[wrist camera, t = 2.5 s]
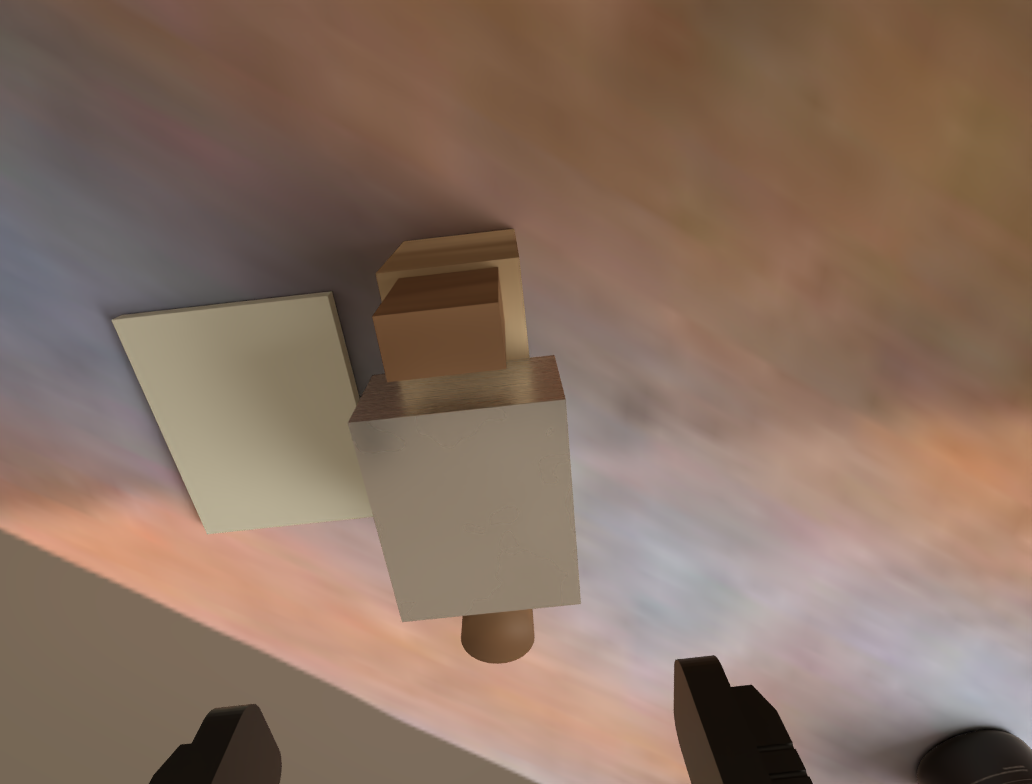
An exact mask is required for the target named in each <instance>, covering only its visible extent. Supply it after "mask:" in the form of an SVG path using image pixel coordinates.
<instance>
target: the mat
mask: <svg viewBox="0 0 1032 784" xmlns="http://www.w3.org/2000/svg"><path fill="white" fill-rule="evenodd" d="M112 322H113V325H114V327H115V329H116V331H117V333H118V336H119V338H120V340H121V342H122V345H123V347H124V349H125V351H126V354H127V356H128V358H129V360H130V363H131V365H132V367H133V369H134V372H135V374H136V376H137V378H138V380H139V383H140V385H141V387H142V389H143V392H144V394H145V396H146V398H147V401H148V403H149V405H150V407H151V410H152V412H153V414H154V416H155V419H156V421H157V423H158V425H159V427H160V430H161V432H162V434H163V436H164V439H165V441H166V443H167V445H168V448H169V450H170V452H171V454H172V457H173V459H174V461H175V463H176V466H177V468H178V470H179V472H180V474H181V477H182V479H183V481H184V483H185V486H186V488H187V490H188V492H189V495H190V497H191V499H192V501H193V504H194V506H195V508H196V510H197V513H198V515H199V517H200V519H201V521H202V524H203V526H204V528H205V530H206V533H207V534H214V533H224V532H233V531H243V530H252V529H262V528H271V527H281V526H290V525H300V524H309V523H319V522H328V521H338V520H347V519H357V518H366V517H373V514H372V510H371V506H370V503H369V499H368V496H367V492H366V488H365V485H364V481H363V477H362V474H361V470H360V466H359V463H358V459H357V455H356V452H355V448H354V444H353V441H352V437H351V433H350V430H349V426H348V421H349V419H350V418H351V416H352V414H353V412H354V410H355V408H356V406H357V404H358V402H359V400H360V398H359V394H358V390H357V386H356V383H355V379H354V375H353V371H352V367H351V363H350V359H349V355H348V352H347V348H346V344H345V340H344V336H343V332H342V328H341V324H340V320H339V317H338V313H337V309H336V305H335V301H334V297H333V293H332V291H330V292H321V293H312V294H304V295H295V296H286V297H277V298H268V299H259V300H250V301H242V302H233V303H224V304H215V305H206V306H197V307H188V308H179V309H171V310H162V311H153V312H144V313H135V314H126V315H121V316H119V317H117V318H115V319H112Z"/></svg>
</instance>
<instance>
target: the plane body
mask: <svg viewBox="0 0 1032 784" xmlns="http://www.w3.org/2000/svg"><path fill="white" fill-rule="evenodd" d="M376 278H377V282H378V287H379V292H380V296H381V301H382V303H381V304H380V306H379V307H378V309H377V310H376V312H375V313H374V315H373V316H372V318H373V322H374V327H375V331H376V335H377V340H378V344H379V348H380V353H381V357H382V361H383V366H384V370H385V375H386V379H387V382H394V381H403V380H412V379H421V378H430V377H440V376H449V375H458V374H467V373H476V372H485V371H494V370H503V369H507V363H506V360H515V359H524V358H529V349H528V339H527V330H526V320H525V310H524V300H523V291H522V281H521V271H520V261H519V254H518V248H517V242H516V236H515V231H514V229H507V230H499V231H490V232H481V233H472V234H464V235H455V236H446V237H437V238H429V239H420V240H411V241H404V242H403V243H402V244H401V245H400V246H399V247H398V249H397V250H396V251H395V252H394V253H393V254H392V255H391V257H390V258H389V259H388V260H387V261H386V262H385V263H384V265H383V266H382V267H381V268H380V269H379V270H378V271H377V273H376ZM461 642H462V645H463V647H464V649H465V650H466V652H467V653H468V654H470V655H471V656H472V657H474V658H476V659H478V660H480V661H483V662H487V663H497V664H498V663H507V662H511V661H514V660H517V659H519V658H521V657H522V656H524V655H525V654H526V653H527V652H528V651H529V650H530V649H531V647H532V645H533V643H534V624H533V610H532V609H526V610H516V611H506V612H496V613H486V614H477V615H467V616H463V619H462V633H461Z"/></svg>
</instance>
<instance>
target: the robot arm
mask: <svg viewBox="0 0 1032 784" xmlns="http://www.w3.org/2000/svg"><path fill="white" fill-rule="evenodd" d="M674 719H675V726H676V731H677V736H678V740H679V744H680V748H681V751H682V754H683V757H684V761H685V764H686V767H687V771H688V774H689V777H690V780H691V784H813V783H812V781H811V779H810V777H808V776H807V773H806V769H805V767H804V765H803V763H802V761H801V759H800V757H799V755H798V753H797V751H796V749H794V747H793V744H792V741H791V739H790V737H789V735H788V733H787V731H786V729H785V726H784V724H783V722H782V720H781V718H780V716H779V714H778V712H777V710H776V709H775V708H774V707H773V706H772V705H771V704H770V703H769V702H768V701H767V700H766V699H765V698H764V697H763V696H762V695H761V694H760V693H759V692H758V691H757V690H756V689H755V688H754V687H753V686H752V685H745V686H736V687H731V686H730V684H729V682H728V679H727V677H726V675H725V672H724V670H723V668H722V666H721V663H720V662H719V660H718V659H717V657H716V656H714V655H713V656H704V657H695V658H686V659H677V660H675V664H674ZM281 764H282V763H281V754H280V751H279V748H278V746H277V744H276V742H275V740H274V738H273V735H272V733H271V731H270V729H269V727H268V725H267V723H266V721H265V719H264V716H263V714H262V712H261V710H260V708H259V707H258V706H257V705H256V704H248V705H239V706H230V707H221V708H215V709H213V710H211V711H210V712H209V713H208V714H207V716H206V717H205V719H204V720H203V722H202V724H201V726H200V728H199V730H198V732H197V734H196V736H195V738H194V740H193V742H192V743H191V744H182V745H180V746H179V747H178V748H177V749H176V750H175V751H174V753H173V754H172V755H171V756H170V757H169V758H168V759H167V761H166V762H165V763H164V764H163V765H162V766H161V767H160V769H159V770H158V771H157V772H156V773H155V774H154V775H153V777H152V779H151V781H150V783H149V784H279V783H280V777H281V767H282V765H281Z"/></svg>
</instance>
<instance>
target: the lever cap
mask: <svg viewBox="0 0 1032 784" xmlns="http://www.w3.org/2000/svg"><path fill="white" fill-rule="evenodd" d="M506 363H507V369H503V370H494V371H485V372H476V373H467V374H458V375H449V376H440V377H430V378H421V379H412V380H403V381H394V382H387V379H386V375H385V374H378V375H372V377H371V379H370V381H369V383H368V385H367V387H366V389H365V391H364V392H363V394H362V396H361V398H360V400H359V402H358V404H357V406H356V408H355V410H354V412H353V414H352V416H351V418H350V419H349V421H348V426H349V430H350V433H351V437H352V441H353V444H354V448H355V452H356V455H357V459H358V463H359V466H360V470H361V474H362V477H363V481H364V485H365V488H366V492H367V496H368V499H369V503H370V506H371V510H372V514H373V517H374V521H375V525H376V528H377V532H378V536H379V539H380V543H381V547H382V550H383V554H384V558H385V561H386V565H387V569H388V572H389V576H390V579H391V583H392V587H393V590H394V594H395V598H396V601H397V605H398V609H399V612H400V616H401V620H402V622H408V621H417V620H427V619H437V618H447V617H457V616H467V615H477V614H486V613H496V612H506V611H516V610H526V609H536V608H546V607H555V606H565V605H575V604H581V600H580V586H579V573H578V559H577V546H576V532H575V519H574V505H573V492H572V478H571V465H570V451H569V438H568V424H567V411H566V399H565V395H564V391H563V387H562V383H561V379H560V375H559V371H558V368H557V364H556V360H555V356H554V355H551V356H542V357H533V358H524V359H515V360H506Z"/></svg>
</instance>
